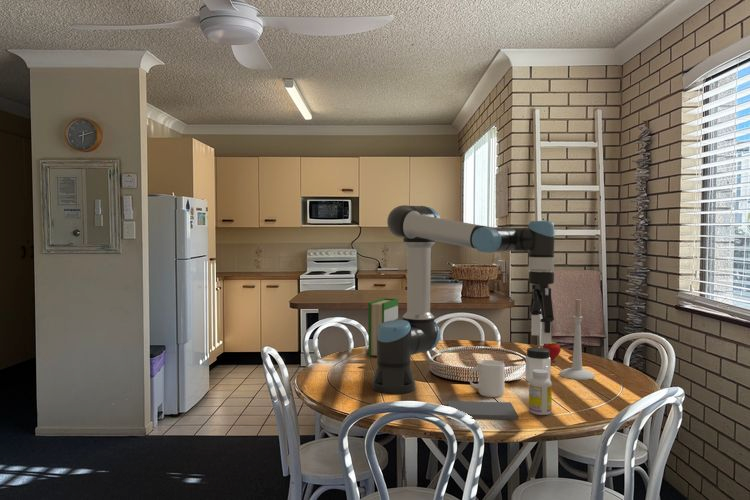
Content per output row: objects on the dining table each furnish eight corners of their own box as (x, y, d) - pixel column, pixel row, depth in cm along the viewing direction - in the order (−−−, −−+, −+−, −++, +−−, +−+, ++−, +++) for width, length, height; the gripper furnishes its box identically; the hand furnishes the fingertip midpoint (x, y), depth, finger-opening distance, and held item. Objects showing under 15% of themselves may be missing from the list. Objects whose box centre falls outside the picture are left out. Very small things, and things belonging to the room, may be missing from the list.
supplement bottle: (547, 408, 179) (547, 368, 178) (554, 415, 172) (555, 373, 172) (526, 409, 179) (526, 368, 178) (532, 415, 172) (533, 373, 171)
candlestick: (570, 380, 212) (571, 300, 211) (553, 372, 225) (554, 296, 224) (601, 379, 215) (603, 299, 213) (582, 370, 227) (584, 296, 226)
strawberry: (561, 363, 240) (562, 339, 240) (543, 362, 241) (543, 338, 241) (559, 359, 246) (559, 336, 246) (541, 359, 247) (541, 336, 247)
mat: (450, 417, 170) (450, 413, 170) (447, 404, 183) (447, 400, 183) (518, 419, 168) (518, 415, 168) (510, 406, 181) (510, 402, 181)
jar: (538, 385, 205) (538, 352, 204) (521, 380, 212) (521, 348, 211) (554, 382, 210) (555, 350, 209) (537, 377, 217) (537, 346, 216)
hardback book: (383, 358, 248) (384, 303, 247) (368, 356, 251) (368, 302, 250) (397, 350, 265) (398, 298, 264) (383, 349, 267) (383, 298, 267)
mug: (470, 388, 201) (470, 358, 201) (504, 391, 198) (505, 360, 197) (467, 395, 193) (467, 364, 192) (503, 398, 190) (503, 366, 189)
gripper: (565, 273, 163) (564, 347, 164) (543, 268, 188) (543, 332, 189) (538, 273, 164) (538, 347, 164) (520, 268, 189) (520, 331, 189)
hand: (540, 339), depth 177 cm, fingers open, 13 cm apart
